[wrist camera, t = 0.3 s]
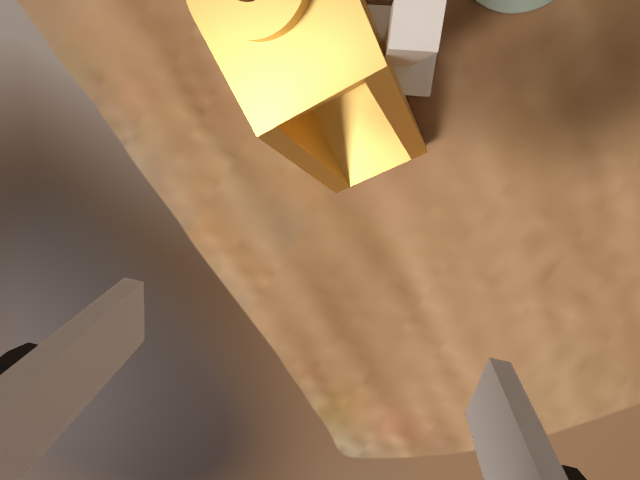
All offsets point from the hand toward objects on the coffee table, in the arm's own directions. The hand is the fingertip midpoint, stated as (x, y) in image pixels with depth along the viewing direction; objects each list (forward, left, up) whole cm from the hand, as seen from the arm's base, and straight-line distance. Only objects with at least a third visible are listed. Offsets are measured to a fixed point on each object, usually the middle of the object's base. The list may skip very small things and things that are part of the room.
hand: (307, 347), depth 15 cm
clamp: (-11, -2, -28) cm, 30 cm away
